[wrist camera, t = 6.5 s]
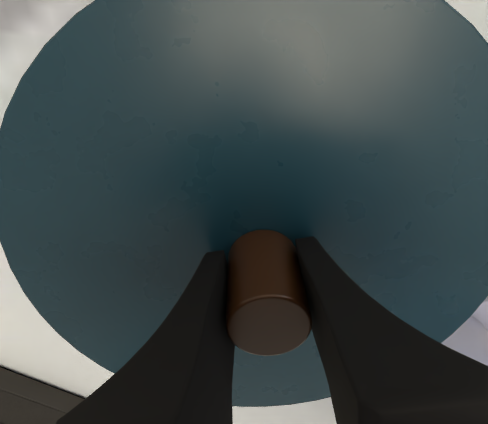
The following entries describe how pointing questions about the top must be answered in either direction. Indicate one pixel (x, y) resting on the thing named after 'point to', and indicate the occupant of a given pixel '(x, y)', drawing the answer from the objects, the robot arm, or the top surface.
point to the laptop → (32, 400)
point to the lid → (248, 172)
